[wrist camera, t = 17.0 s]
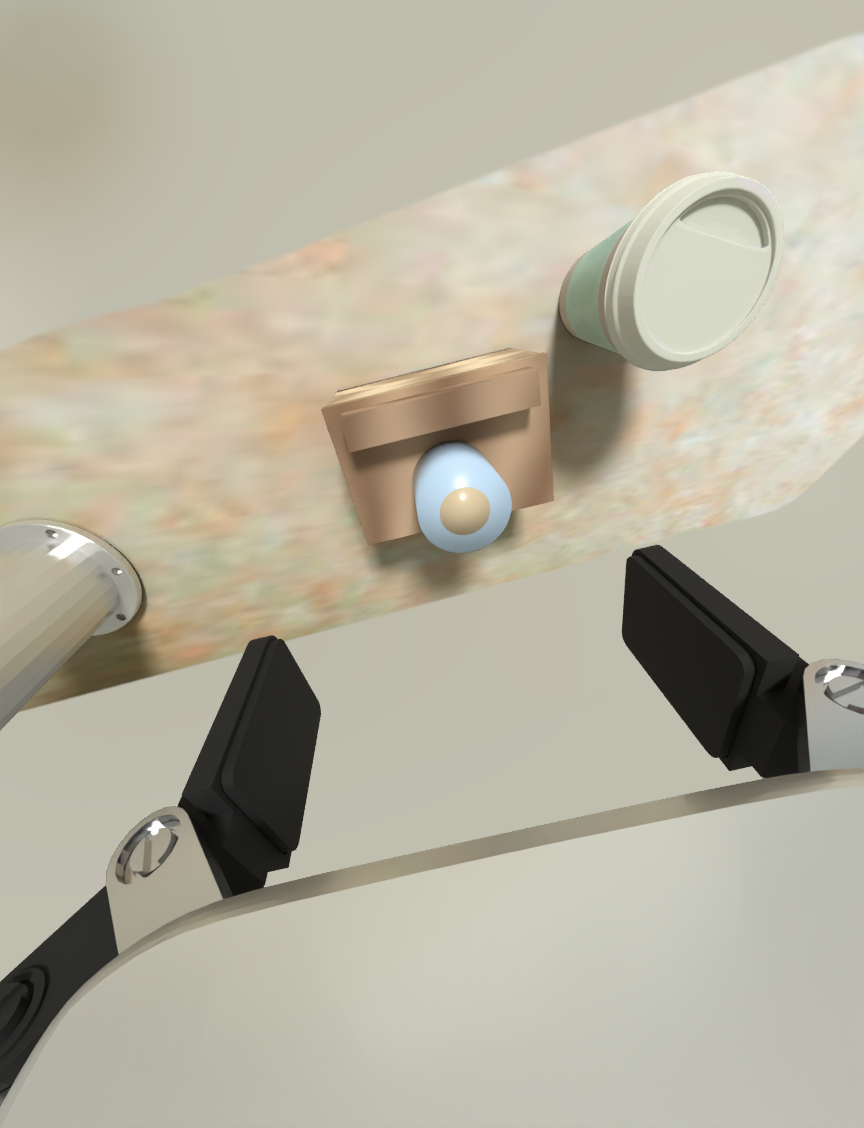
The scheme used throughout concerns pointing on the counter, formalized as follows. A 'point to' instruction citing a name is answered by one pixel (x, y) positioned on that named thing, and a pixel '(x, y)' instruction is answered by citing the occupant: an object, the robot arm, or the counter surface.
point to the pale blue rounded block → (459, 497)
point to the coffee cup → (679, 273)
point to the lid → (444, 438)
